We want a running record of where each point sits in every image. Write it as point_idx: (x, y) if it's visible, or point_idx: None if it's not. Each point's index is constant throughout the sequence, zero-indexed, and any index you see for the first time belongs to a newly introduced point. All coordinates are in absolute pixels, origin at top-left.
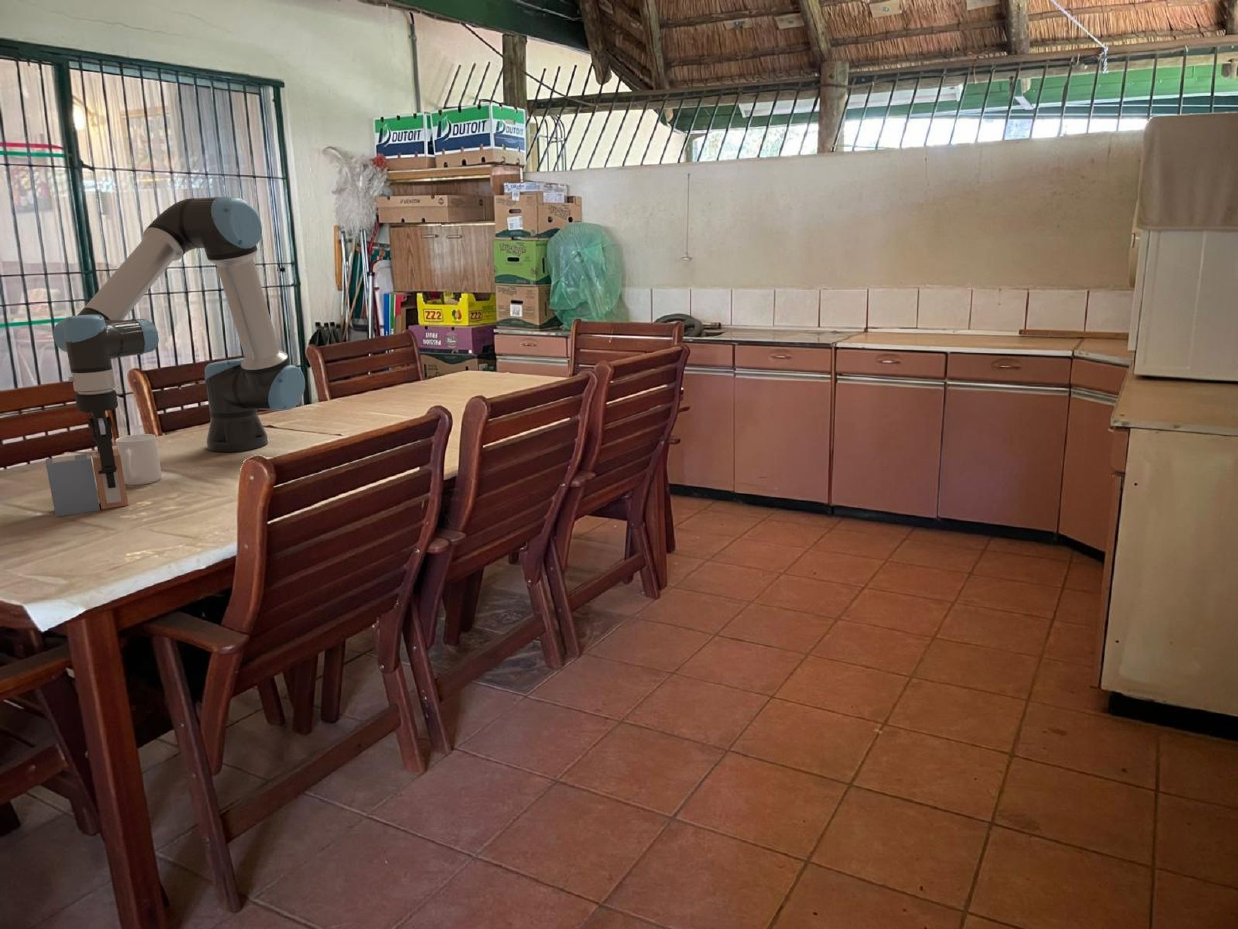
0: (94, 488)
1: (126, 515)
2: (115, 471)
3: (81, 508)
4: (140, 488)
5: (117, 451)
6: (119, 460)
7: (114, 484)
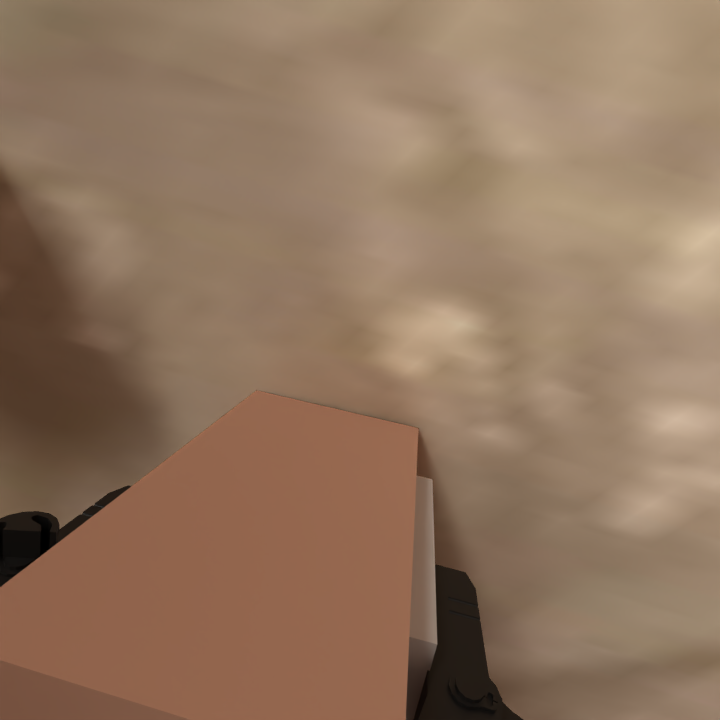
0: None
1: (625, 500)
2: (489, 681)
3: None
4: (69, 253)
5: (92, 704)
6: (405, 705)
7: (472, 600)
